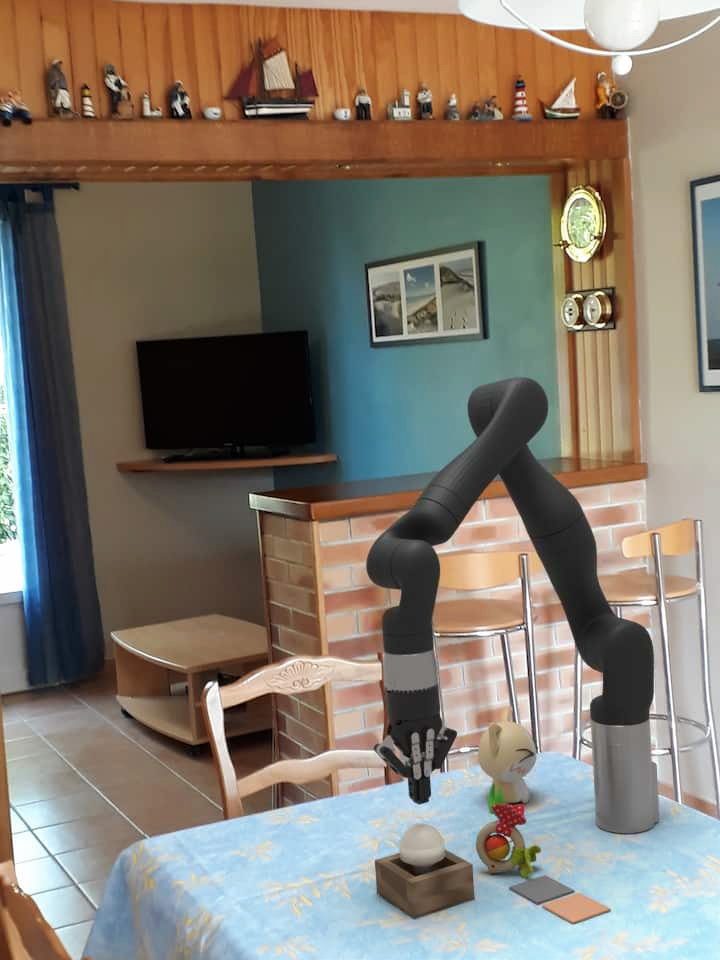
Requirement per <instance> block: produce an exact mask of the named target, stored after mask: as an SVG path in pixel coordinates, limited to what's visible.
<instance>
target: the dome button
mask: <svg viewBox="0 0 720 960" xmlns="http://www.w3.org/2000/svg"><path fill="white" fill-rule="evenodd" d="M398 846H399V847H398V849H399V853H400V859H401V860H402V861H403V862H405V863H408V864H411V865H413V868H414V876H415V877H416V876H419V875H423V874H426V873H429V872H433V871H434V870H433V864H435V863H436V862H439V861H441V860H442V859H444V857H445V850H446V844H445V839H444V837H442V835H441V833H440V832H439V831H438V829H437V828H436V827H434V826H433V825H431V824H428V823H424V822H422V823H421V822H420V823H416V824H412V825H411V826H409V827H408V828H407V829H406V830H405V831H404V832H403V835H402V836H401V839H400V840H399V842H398Z"/></svg>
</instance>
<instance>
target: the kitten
mask: <svg viewBox="0 0 720 960" xmlns="http://www.w3.org/2000/svg"><path fill="white" fill-rule="evenodd" d="M538 749H539V747H538V745H537V742H536V741H535V739H534V738H533V737H532V735H531V733H530V731H528V730H527V728H525V726H524V725H521V724H519V723H517V722H513V721H511V718H510V710H509V708H508V707H506V706H505V707H504V708H503V709H502V711H501V714H500V717H499V722H496V723H495V722H490V723H489V725H488V728H486V730H485V731H484V733H483V734H482V736H481V738H480V741H479V745H478V750H477V758H478V764H479V766H480V768H481V770H482V771H483V773H485V774H486V775H487V776H488V777H490V778H492V779H491V780H492V781H491V782H492V783H491V785H490V789H489V793H488V809H489V811H488V812H489V813H491V814H494V816H496V814H495V813H494V811H493V809H492V805H493V804H495V803H496V804H501V805H502V804H507V803H508V804H514V803H516V804H517V803H519V802H521V803H522V804H527V803H528V801H529V800H530V798H531V793H530V789H529V787H528V784H527V783H526V781H525V779H524V777H526V776H527V775H528V774H529V773H530V772H531V771H532V769H533V768H534V767H535V765H536V762H537V750H538ZM496 817H497V816H496Z"/></svg>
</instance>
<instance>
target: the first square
mask: <svg viewBox="0 0 720 960" xmlns="http://www.w3.org/2000/svg"><path fill="white" fill-rule="evenodd" d="M508 890H510V891H512V892H514V893H516V894H517V895H520V896H521V897H523V898H525V899H526V900H528V901H530V902H532V903H534V904H536V905H541V904H543V903H544V904H545V903H546V902H547V903H548V902H549V901H550V902H551V901H554V900H557V899H558V898H563V897H566V896H569V895H571V894H573V893H575V889H573V888H571V887H569V886H567V885H565V884H563V883H562V882H559V881H558V880H555V879H554V878H551V877H550V876H547V875H546V874H543V875H541V876H539V877H535V878H532V879H527V880H525V881H523V882H520V883H516V884H513V885H511V886H508Z"/></svg>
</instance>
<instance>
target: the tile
mask: <svg viewBox="0 0 720 960" xmlns="http://www.w3.org/2000/svg"><path fill="white" fill-rule="evenodd" d="M541 908H543V909H545V910H546V911H548V912H550V913H552V914H553V915H555V916H557V917H559V918H561V919H563V920H564V921H566V922H568V923H570V924H571V925H576V924H578V923H581V922H584V921H587V920H588V919H591V918H595V917H598V916H600V915H602V914H606V913H609V912H611V911H612V909H611V908H610V907H608V906H606V905H605V904H602V903H601V902H598V901H597V900H594V899H593V898H591V897H589V896H587V895H584V894H583V893H581V892H576V893H574V894H573V893H572V894H569V895H566V896H563V897H560V899H558V898H557V899H554V900H552V901H550V902H547V903H544V904H542V905H541Z"/></svg>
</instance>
